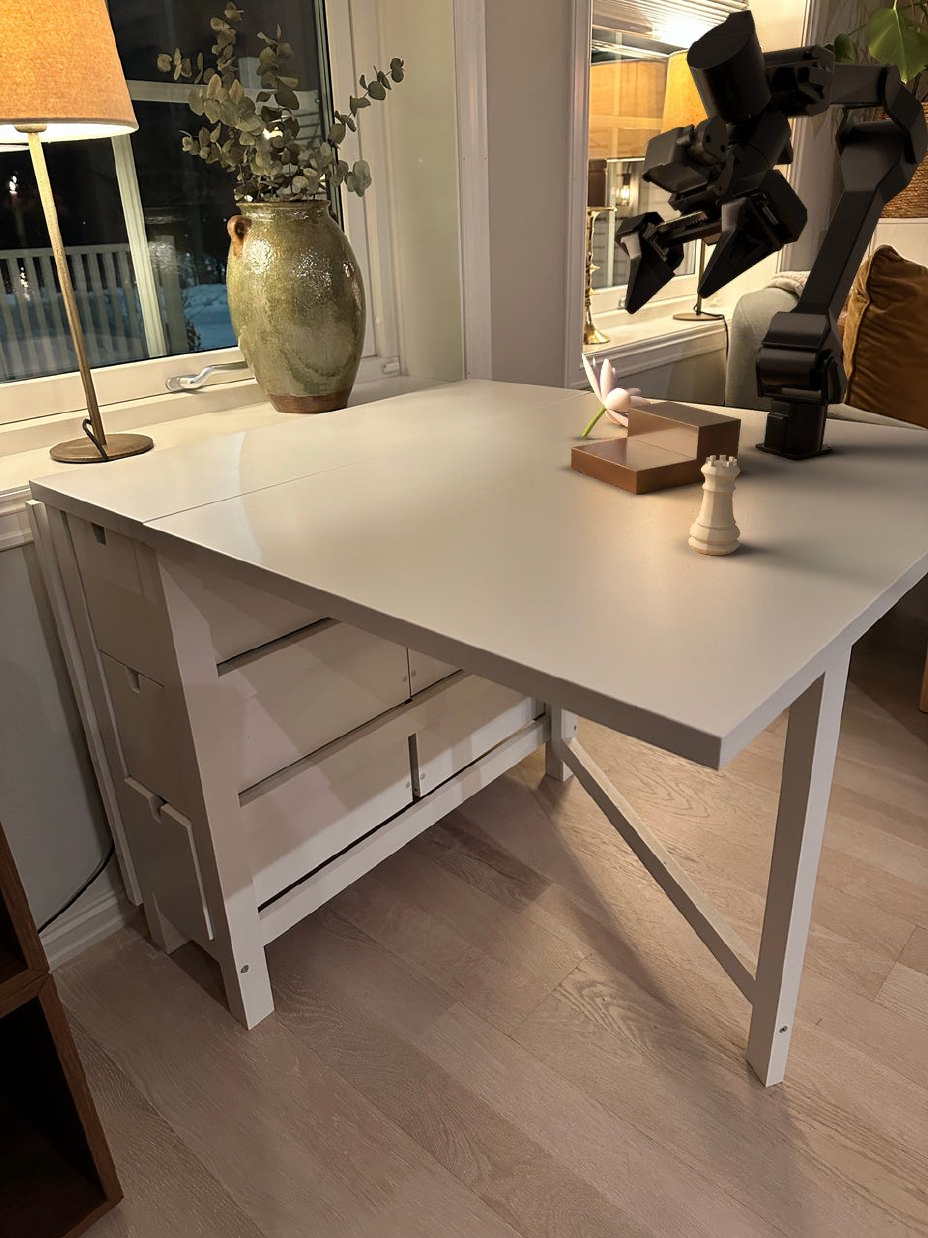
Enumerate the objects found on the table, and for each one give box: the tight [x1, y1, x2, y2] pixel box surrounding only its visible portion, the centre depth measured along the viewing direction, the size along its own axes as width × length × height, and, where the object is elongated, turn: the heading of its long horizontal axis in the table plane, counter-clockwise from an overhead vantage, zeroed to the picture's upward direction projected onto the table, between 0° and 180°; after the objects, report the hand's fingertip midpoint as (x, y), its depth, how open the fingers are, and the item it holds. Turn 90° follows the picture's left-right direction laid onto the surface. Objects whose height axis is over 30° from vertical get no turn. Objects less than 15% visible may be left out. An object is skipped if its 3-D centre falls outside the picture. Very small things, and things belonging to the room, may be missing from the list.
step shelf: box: [570, 400, 742, 495], centre depth 99 cm, size 14×12×6 cm
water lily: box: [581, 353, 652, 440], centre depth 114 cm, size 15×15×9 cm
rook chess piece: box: [687, 455, 741, 556], centre depth 77 cm, size 4×4×8 cm
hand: (662, 303), depth 79 cm, fingers open, 9 cm apart
